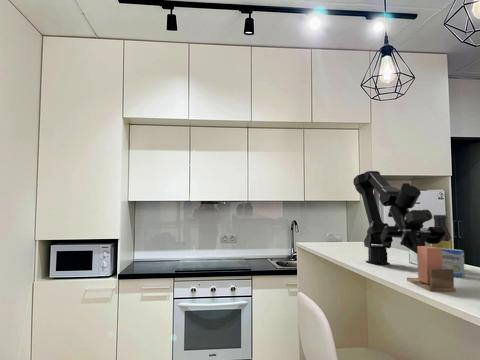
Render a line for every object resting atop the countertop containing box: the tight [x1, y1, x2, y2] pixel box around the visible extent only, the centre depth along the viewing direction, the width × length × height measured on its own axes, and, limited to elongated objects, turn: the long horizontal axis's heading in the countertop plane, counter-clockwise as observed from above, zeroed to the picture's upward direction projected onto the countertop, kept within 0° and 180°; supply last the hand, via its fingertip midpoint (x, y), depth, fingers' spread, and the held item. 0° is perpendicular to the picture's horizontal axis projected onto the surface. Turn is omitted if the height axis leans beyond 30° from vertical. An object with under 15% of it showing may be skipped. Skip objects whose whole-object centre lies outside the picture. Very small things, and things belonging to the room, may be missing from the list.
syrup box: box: [408, 227, 432, 266], centre depth 122 cm, size 6×6×14 cm
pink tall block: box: [417, 245, 442, 284], centre depth 90 cm, size 4×4×10 cm
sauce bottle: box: [431, 214, 453, 249], centre depth 113 cm, size 6×6×20 cm
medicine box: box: [442, 248, 466, 278], centre depth 104 cm, size 8×4×9 cm, turn 47°
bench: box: [406, 269, 457, 293], centre depth 90 cm, size 12×7×6 cm, turn 1°
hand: (424, 256), depth 92 cm, fingers closed
